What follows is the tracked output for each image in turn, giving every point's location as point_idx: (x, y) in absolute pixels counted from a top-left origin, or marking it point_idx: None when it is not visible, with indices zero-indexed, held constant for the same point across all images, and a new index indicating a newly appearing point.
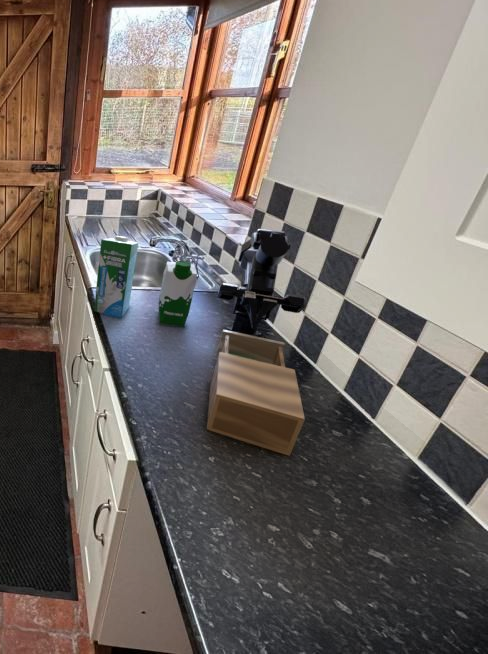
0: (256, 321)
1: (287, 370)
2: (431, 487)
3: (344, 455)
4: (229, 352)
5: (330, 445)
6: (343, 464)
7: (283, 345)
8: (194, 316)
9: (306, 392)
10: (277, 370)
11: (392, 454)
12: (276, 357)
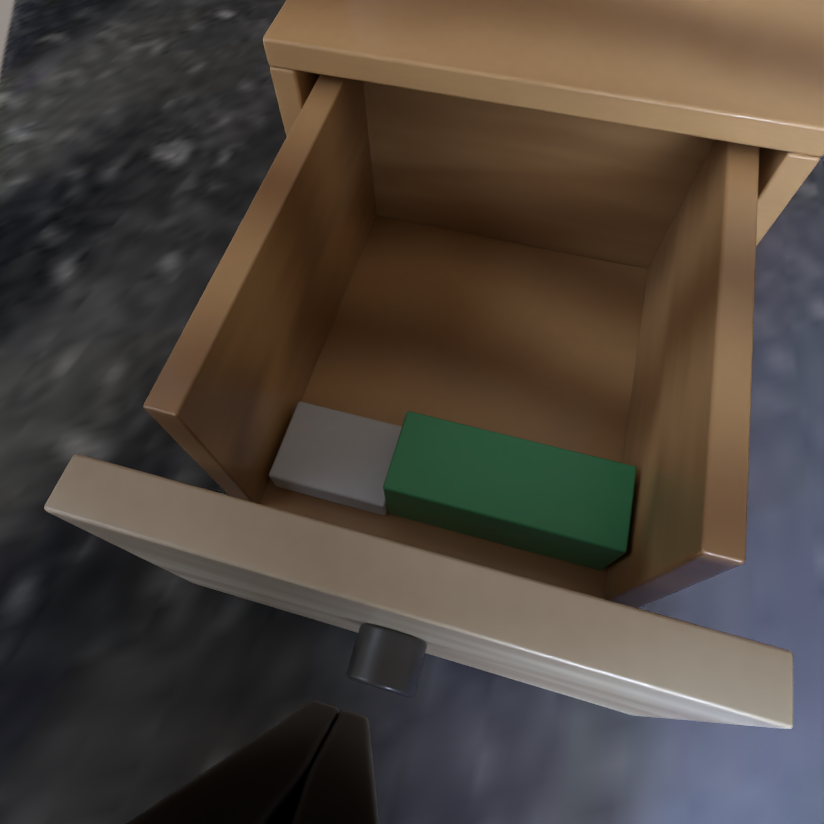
0: (291, 773)
1: (325, 19)
2: (35, 17)
3: (223, 68)
4: (597, 536)
5: (244, 95)
6: (254, 38)
7: (92, 459)
8: None
9: (123, 390)
10: (402, 9)
11: (37, 100)
12: (239, 382)
